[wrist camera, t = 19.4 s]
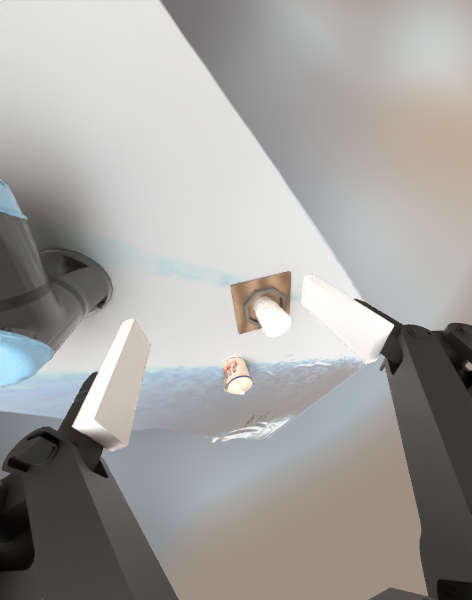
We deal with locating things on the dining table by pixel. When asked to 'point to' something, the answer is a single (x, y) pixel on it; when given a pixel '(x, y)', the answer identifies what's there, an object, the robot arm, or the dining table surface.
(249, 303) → the ring holder
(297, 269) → the dining table surface
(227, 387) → the teacup with lid
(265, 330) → the white cup
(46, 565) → the robot arm
